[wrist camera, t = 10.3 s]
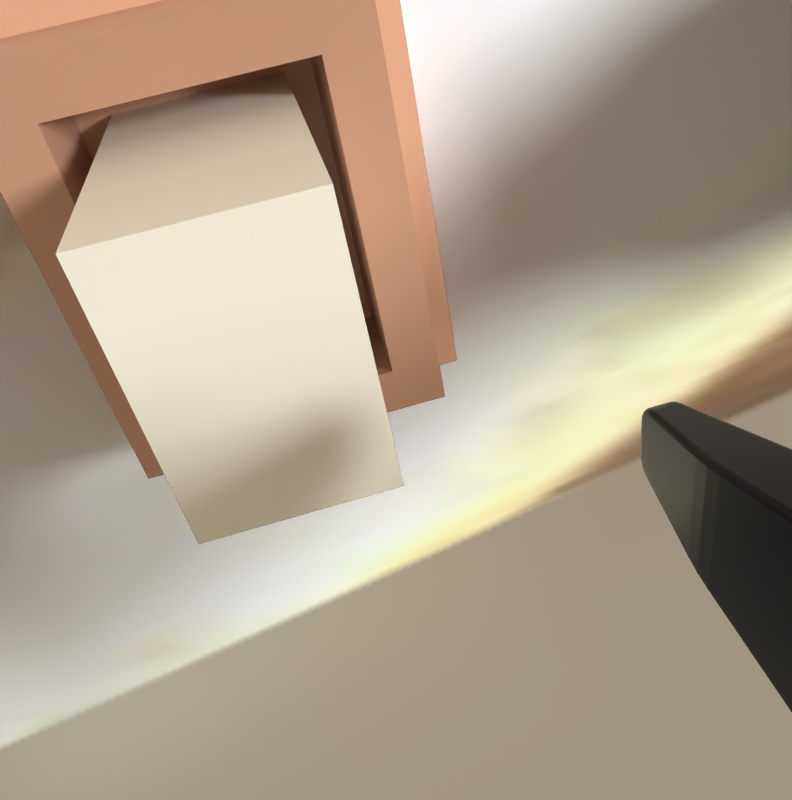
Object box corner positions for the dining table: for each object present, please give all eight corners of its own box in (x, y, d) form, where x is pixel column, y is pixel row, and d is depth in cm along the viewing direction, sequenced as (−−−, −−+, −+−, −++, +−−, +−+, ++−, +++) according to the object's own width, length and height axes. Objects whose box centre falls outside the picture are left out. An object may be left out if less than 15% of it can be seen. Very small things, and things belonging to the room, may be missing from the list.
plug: (283, 72, 17) (333, 183, 11) (341, 299, 21) (403, 485, 14) (112, 114, 17) (55, 253, 10) (200, 336, 20) (198, 543, 14)
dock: (371, -112, 16) (415, -111, 13) (446, 340, 24) (487, 416, 20) (-82, -8, 16) (-158, 21, 12) (136, 425, 23) (124, 518, 19)
